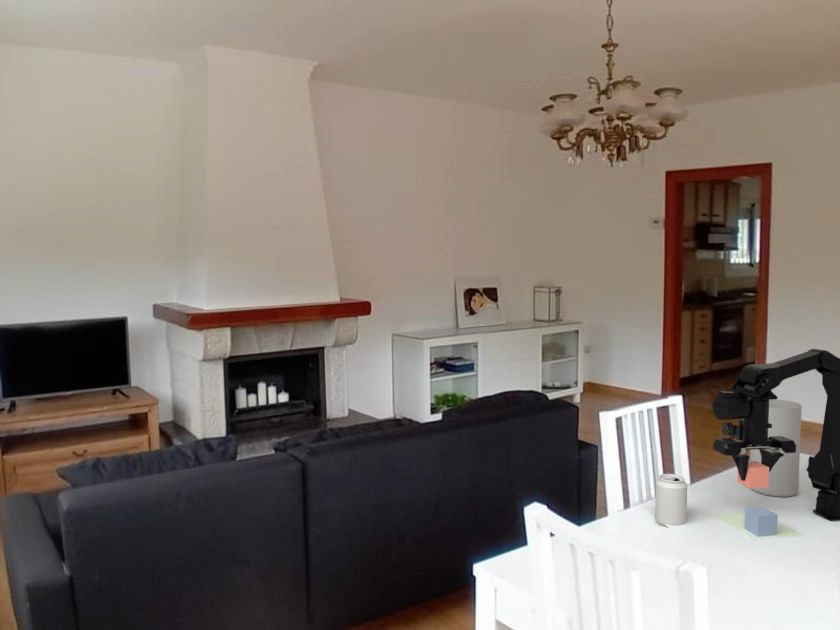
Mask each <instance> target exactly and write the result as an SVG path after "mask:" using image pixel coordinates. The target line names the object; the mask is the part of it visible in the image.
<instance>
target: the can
mask: <svg viewBox="0 0 840 630" xmlns="http://www.w3.org/2000/svg"><path fill="white" fill-rule="evenodd" d="M685 480H686V479H685V477H684V476H682V475H680V474H674V473H664V474H663V473H662V474H660V475H658V477H657V480H655V490H654V491H655V500H654V520H655V522H657V523H658V525H659V526H662V527H664V528H667V529H669V526H674V527H677V526H678V527H679V526H683V525H685V524H687V514H688V512H687V509H688V484H687V482H686V481H685Z"/></svg>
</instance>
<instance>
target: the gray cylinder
mask: <svg viewBox="0 0 840 630" xmlns="http://www.w3.org/2000/svg"><path fill="white" fill-rule="evenodd" d="M802 409H803V405H802V404H800V403H798V402H795V401H791V400H787V399H786V400H785V399H778V398H777V399H772V400H769V423H771V424H772V428H768V438H769V437H770V436H783V437H786V438H788V439H791V440H793V441H794V442H795V444H796V453H784V452H783V451H782V448H780V453H782V454H784V456H783V457H780V458H779V460H778V461H777V462H776V464H775V465H774V466H773V468H772V469H771V471H770V473H769V486H768V488H750V489H751V490H752V491H754V492H756V493H758V494H762V495H765V496H768V497H778V498H788V497H793V496H795V495H797V494H798V493H799V484H800V483H799V482H800V479H799V478H800V460H801V459H800V456H801V434H802V433H801V432H802ZM749 446H752V445H749ZM757 446H758V445H757ZM755 461H757V462H759V463H761V454H760V451H759V449H750V450H749V462H755Z"/></svg>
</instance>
